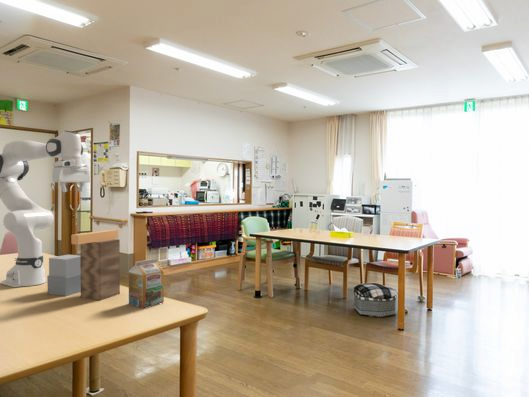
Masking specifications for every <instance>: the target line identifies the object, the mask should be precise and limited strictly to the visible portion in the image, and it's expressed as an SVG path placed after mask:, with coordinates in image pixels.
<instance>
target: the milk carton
mask: <svg viewBox="0 0 529 397" xmlns="http://www.w3.org/2000/svg"><path fill="white" fill-rule="evenodd" d="M164 273H165V271H164V269H163V268H162V266H161V265H160V264H159V262H158V259H157V258H153V259H145V260H139V261H135V265H134V266H132V267H131V268H130V269H129V270H128V304H129V305H131V306H134V307H137V308H140V309H147V308H150V307H149V306H151V307H153V305H155V306H157V305H156V304H158V305H160V304H159V303H162V304H164V303H163V302H164V301H165V297H164V295H165V287H164V286H165V284H164V283H165V278H164V277H165V276H164ZM146 307H147V308H146Z"/></svg>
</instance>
